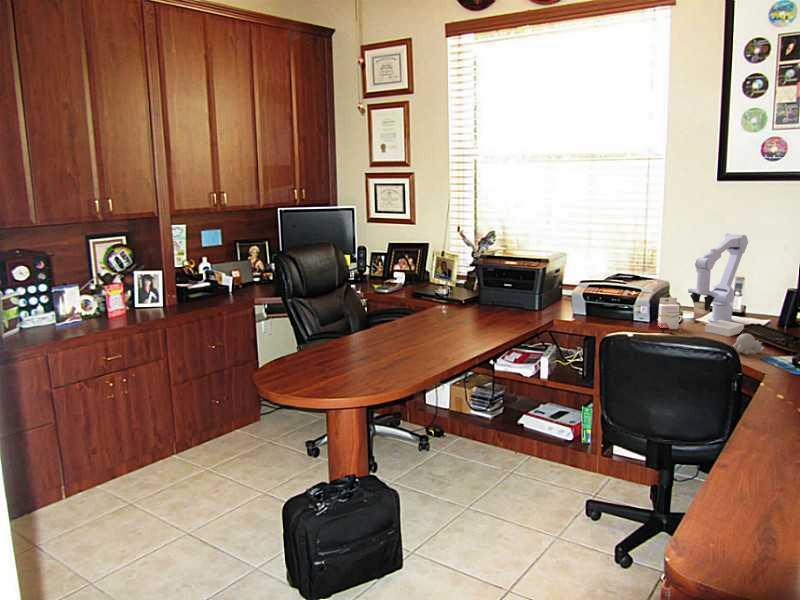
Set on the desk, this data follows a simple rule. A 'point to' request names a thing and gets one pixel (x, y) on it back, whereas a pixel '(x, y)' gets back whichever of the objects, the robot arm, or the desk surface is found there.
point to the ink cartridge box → (668, 313)
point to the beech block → (700, 307)
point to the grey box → (724, 328)
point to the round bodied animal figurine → (747, 344)
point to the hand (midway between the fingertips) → (701, 309)
